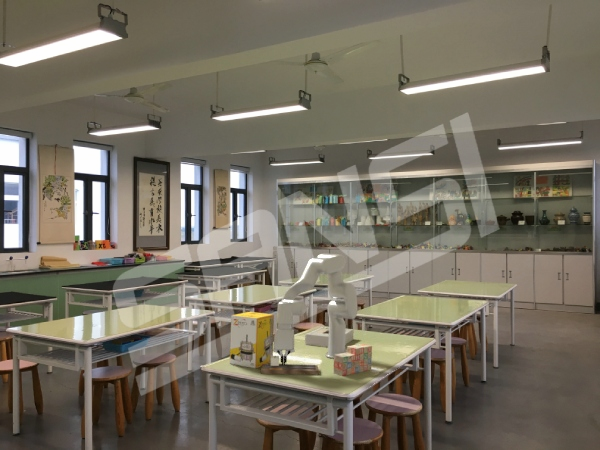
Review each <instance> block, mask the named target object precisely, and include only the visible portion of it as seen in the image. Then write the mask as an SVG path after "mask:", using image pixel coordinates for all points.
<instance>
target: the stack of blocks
mask: <svg viewBox="0 0 600 450" xmlns="http://www.w3.org/2000/svg"><path fill="white" fill-rule="evenodd" d="M372 349H373V346H372V345H369V344H366V343H361V344H360V343H359V344H354V345H346V350H347V353H341V354H336V355H334V358H333V374H334V375H338V376H340V377H344V376H349V375H353V374H354V375H355V374H357V373H362V372H366V371H370V370H372V359H373V352H372V351H373V350H372Z"/></svg>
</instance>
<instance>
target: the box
mask: <svg viewBox="0 0 600 450" xmlns="http://www.w3.org/2000/svg"><path fill="white" fill-rule="evenodd" d="M353 340H354V329H348V328H346V332H345V346H347V344H349V343H350V342H352V341H353ZM328 342H329V326H320V327H318V328H317V329H314V330H313V331H309V332H307V333H305V334H304V345H305V346H315V347H322V348H328Z"/></svg>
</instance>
